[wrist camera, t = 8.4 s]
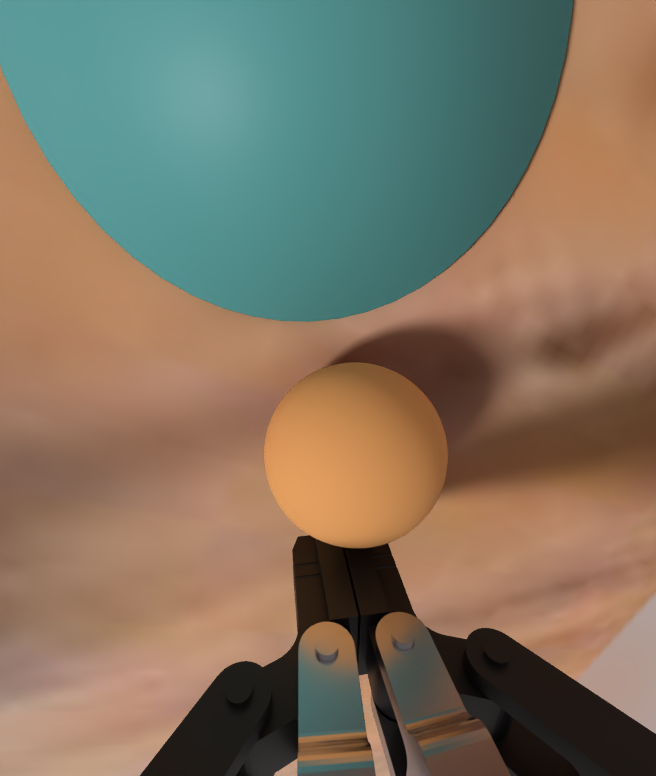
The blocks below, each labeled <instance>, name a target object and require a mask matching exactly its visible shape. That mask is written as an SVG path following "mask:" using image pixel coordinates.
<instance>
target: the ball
mask: <svg viewBox="0 0 656 776" xmlns="http://www.w3.org/2000/svg"><path fill="white" fill-rule="evenodd" d="M264 460H265V471H266V475H267V479H268V482H269V486H270V488H271V491H272V493H273V495H274V497H275V499H276V501H277V503H278V504H279V506H280V507H281V509H282V510H283V511H284V513H285V514H286V516H287V517H288V518H289V519H290V520H291V521H292V522H293V523H294V524H295V525H297V526H298V527H299V528H300V529H301V530H303V531H304V532H305V533H307V534H309V535H310V536H312V537H314V538H316V539H318V540H320V541H322V542H325V543H328V544H331V545H334V546H339V547H345V548H370V547H376V546H381V545H384V544H387V543H389V542H392V541H394V540H396V539H398V538H400V537H402V536H404V535H405V534H407V533H408V532H410V531H411V530H412V529H414V528H415V527H416V526H418V525H419V523H420V522H421V521H422V520H423V519H424V518H425V517H426V516H427V515H428V514H429V512H430V511H431V509H432V508H433V506H434V505H435V503H436V501H437V500H438V498H439V496H440V493H441V491H442V488H443V485H444V482H445V478H446V472H447V466H448V447H447V440H446V435H445V431H444V428H443V425H442V422H441V419H440V417H439V415H438V413H437V411H436V410H435V408H434V406H433V405H432V403H431V402H430V400H429V399H428V398H427V396H426V395H425V394H424V393H423V392H422V391H421V390H420V389H419V388H418V387H417V386H416V385H415V384H414V383H412V382H411V381H410V380H408V379H407V378H405V377H404V376H402V375H401V374H399V373H397V372H395V371H392V370H390V369H387V368H385V367H382V366H379V365H375V364H369V363H359V362H351V363H342V364H336V365H332V366H328V367H326V368H323V369H320V370H318V371H316V372H314V373H312V374H310V375H308V376H307V377H305V378H304V379H302V380H301V381H300V382H298V383H297V384H296V385H295V386H294V387H293V388H292V389H291V390H290V391H289V392H288V393H287V394H286V395H285V396H284V398H283V399H282V400H281V402H280V403H279V405H278V406H277V408H276V410H275V412H274V414H273V416H272V419H271V421H270V423H269V426H268V430H267V434H266V439H265V447H264Z"/></svg>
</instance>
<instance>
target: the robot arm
mask: <svg viewBox="0 0 656 776" xmlns="http://www.w3.org/2000/svg"><path fill="white" fill-rule="evenodd" d="M292 551H293V573H294V591H295V604H296V617H297V630H298V635H297V638H296V641H295V643H294V645H293V646H292V647H291V649H290V650H289V651H288V652H287V653H286V654H285V655H284V656H283V657H281V658H279V659H278V660H276V661H274V662H272V663H270V664H268V665H266V666H264V667H261V666H260V665H258V664H256V663H254V662H248V661H243V662H238V663H235V664H232V665H230V666H229V667H227V668H226V669H224V670H223V671H222V672H221V673H220V674H219V675H218V676H217V677H216V679H215V680H214V681H213V683H212V684H211V685H210V686H209V688H208V689H207V690H206V692H205V693H204V694H203V695H202V697H201V698H200V699H199V701H198V702H197V703H196V704H195V706H194V707H193V708H192V710H191V711H190V712H189V713H188V715H187V716H186V717H185V718H184V720H183V721H182V722H181V724H180V725H179V726H178V727H177V729H176V730H175V731H174V733H173V734H172V735H171V736H170V738H169V739H168V740H167V742H166V743H165V744H164V745H163V747H162V748H161V749H160V751H159V752H158V753H157V754H156V756H155V757H154V758H153V760H152V761H151V762H150V763H149V765H148V766H147V767H146V769H145V770H144V771H143V772H142V774H141V775H140V776H274V774H275V772H277V771H279V770H280V769H282V768H283V767H285V766H286V765H288V764H289V763H291V762H292V761H294V760H295V759H297V758H298V776H376V775H375V768H374V761H373V755H372V750H371V746H370V743H369V742H368V739H367V734H366V727H365V720H364V712H363V704H362V697H361V689H360V682H359V675H363V674H368V678H369V682H370V686H371V708H372V712H373V715H374V719H375V722H376V726H377V729H378V733H379V736H380V740H381V743H382V747H383V750H384V754H385V757H386V761H387V765H388V768H389V772H390V775H391V776H656V734H655V733H653V732H652V731H650V730H649V729H647V728H646V727H644V726H643V725H641V724H640V723H638V722H637V721H635V720H634V719H632V718H631V717H629V716H628V715H626V714H625V713H623V712H622V711H620V710H619V709H617V708H616V707H614V706H613V705H611V704H610V703H608V702H607V701H605V700H604V699H602V698H601V697H599V696H598V695H596V694H594V693H593V692H592V691H590V690H589V689H587V688H585V687H584V686H582V685H581V684H580V683H578V682H577V681H575V680H574V679H572V678H571V677H569V676H568V675H566V674H565V673H563V672H562V671H560V670H559V669H557V668H556V667H554V666H553V665H551V664H550V663H548V662H546V661H545V660H543V659H542V658H540V657H539V656H537V655H536V654H534V653H533V652H531V651H530V650H528V649H527V648H525V647H524V646H522V645H521V644H519V643H518V642H516V641H515V640H513V639H512V638H510V637H509V636H507V635H506V634H504V633H502V632H500V631H498V630H495V629H490V628H481V629H477V630H475V631H473V632H472V633H471V634H470V635H469V636H468V638H467V639H462V638H457V637H451V636H446V635H442V634H439V633H436V632H434V631H432V630H430V629H429V628H427V627H426V626H425V625H424V624H423V623H422V622H421V621H420V620H419V619H418V618H417V616H416V615H415V613H414V611H413V609H412V606H411V604H410V601H409V598H408V596H407V593H406V590H405V588H404V585H403V582H402V580H401V577H400V574H399V572H398V569H397V567H396V564H395V561H394V558H393V556H392V553H391V550H390V548H389V545H388V543H387V544H384V545H381V546H376V547H370V548H345V547H339V546H334V545H331V544H328V543H325V542H322V541H320V540H318V539H316V538H314V537H312V536H310V535H309V536H300V537H298V538H297V540H296V543H295V545H294V548H293V550H292Z"/></svg>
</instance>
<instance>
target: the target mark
mask: <svg viewBox="0 0 656 776" xmlns="http://www.w3.org/2000/svg"><path fill="white" fill-rule="evenodd" d="M572 9H573V0H0V65H1V68H2V71H3V74H4V76H5V78H6V80H7V83H8V85H9V87H10V89H11V91H12V94H13V96H14V98H15V100H16V103H17V105H18V107H19V109H20V111H21V114H22V116H23V118H24V120H25V122H26V124H27V125H28V127H29V129H30V131H31V132H32V134H33V136H34V137H35V139H36V141H37V143H38V144H39V146H40V148H41V150H42V151H43V153H44V155H45V157H46V158H47V160H48V162H49V163H50V164H51V166H52V167H53V169H54V170H55V171H56V173H57V174H58V176H59V177H60V178H61V180H62V181H63V183H64V184H65V185H66V187H67V188H68V189H69V191H70V192H71V194H72V195H73V196H74V198H75V199H76V200H77V201H78V202H79V204H80V205H81V206H82V207H83V208H84V209H85V210H86V211H87V213H88V214H89V215H90V216H91V217H92V218H93V219H94V220H95V222H96V223H97V224H98V225H99V226H100V227H101V228H102V229H103V230H104V231H105V232H106V233H107V234H108V235H109V236H110V237H111V238H112V239H114V240H115V241H116V242H117V243H118V244H119V245H120V246H121V247H122V248H123V249H125V250H126V251H127V252H128V253H129V254H130V255H131V256H132V257H134V258H135V259H136V260H138V261H139V262H141V263H142V264H143V265H145V266H146V267H147V268H149V269H150V270H152V271H153V272H154V273H156V274H157V275H158V276H160V277H161V278H163V279H164V280H166V281H168V282H170V283H172V284H173V285H175V286H177V287H179V288H180V289H182V290H184V291H186V292H187V293H189V294H191V295H193V296H195V297H198V298H200V299H202V300H205V301H207V302H210V303H212V304H214V305H217V306H219V307H222V308H225V309H228V310H232V311H235V312H239V313H242V314H246V315H250V316H254V317H260V318H267V319H274V320H280V321H320V320H329V319H338V318H343V317H347V316H351V315H356V314H360V313H364V312H368V311H370V310H373V309H376V308H378V307H381V306H384V305H386V304H389V303H392V302H394V301H396V300H398V299H400V298H402V297H403V296H405V295H407V294H409V293H411V292H413V291H415V290H417V289H419V288H420V287H422V286H423V285H425V284H426V283H427V282H429V281H430V280H432V279H433V278H435V277H436V276H437V275H439V274H440V273H442V272H443V271H444V270H446V269H447V268H448V267H449V266H450V265H451V264H452V263H454V262H455V261H456V260H457V259H458V258H459V257H460V256H461V255H463V254H464V253H465V252H466V251H467V250H468V249H469V248H470V247H471V246H472V245H473V243H474V242H475V241H476V240H477V239H478V238H479V237H480V236H481V235H482V234H483V232H484V231H485V230H486V229H487V228H488V227H489V226H490V224H491V223H492V221H493V220H494V219H495V217H496V216H497V215H498V213H499V212H500V210H501V209H502V208H503V206H504V205H505V204H506V202H507V201H508V200H509V198H510V196H511V194H512V193H513V191H514V189H515V188H516V186H517V184H518V182H519V181H520V179H521V177H522V176H523V174H524V172H525V170H526V169H527V166H528V164H529V162H530V160H531V158H532V156H533V153H534V151H535V149H536V147H537V145H538V142H539V140H540V138H541V136H542V134H543V131H544V128H545V125H546V122H547V119H548V116H549V113H550V111H551V108H552V105H553V102H554V99H555V96H556V92H557V88H558V84H559V80H560V76H561V72H562V68H563V64H564V60H565V56H566V49H567V43H568V36H569V30H570V23H571V16H572Z"/></svg>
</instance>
